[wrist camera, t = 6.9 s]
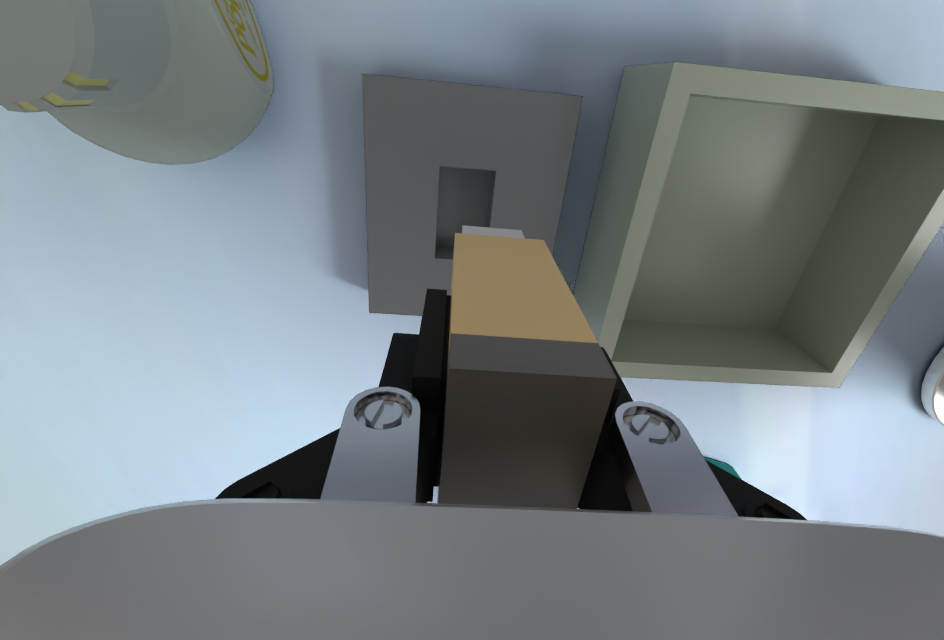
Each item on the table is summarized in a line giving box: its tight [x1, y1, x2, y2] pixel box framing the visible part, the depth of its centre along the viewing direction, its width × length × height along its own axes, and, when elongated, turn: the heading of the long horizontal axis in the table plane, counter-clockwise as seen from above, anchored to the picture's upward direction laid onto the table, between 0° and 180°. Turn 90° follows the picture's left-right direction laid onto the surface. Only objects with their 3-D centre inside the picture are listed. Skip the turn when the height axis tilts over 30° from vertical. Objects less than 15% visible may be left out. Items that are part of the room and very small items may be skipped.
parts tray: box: [573, 62, 944, 388], centre depth 23 cm, size 15×15×6 cm
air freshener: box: [0, 0, 274, 165], centre depth 16 cm, size 11×8×10 cm
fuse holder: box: [362, 74, 583, 316], centre depth 23 cm, size 10×12×2 cm
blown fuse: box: [437, 225, 617, 509], centre depth 11 cm, size 2×5×9 cm, turn 175°
